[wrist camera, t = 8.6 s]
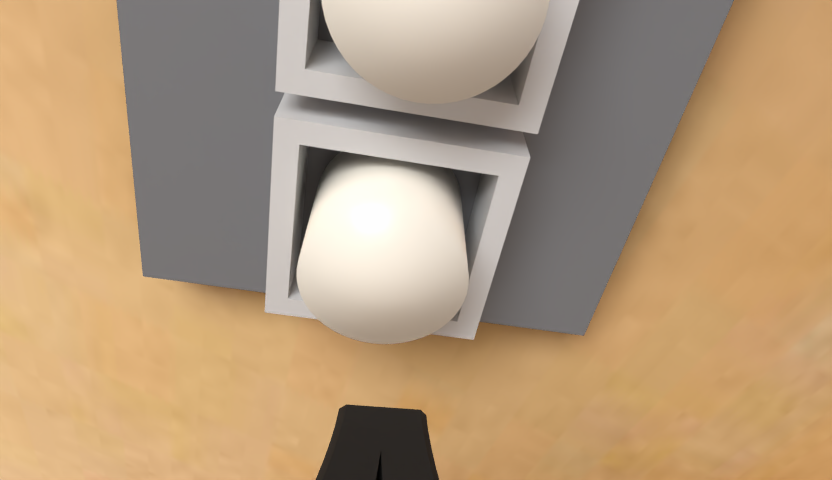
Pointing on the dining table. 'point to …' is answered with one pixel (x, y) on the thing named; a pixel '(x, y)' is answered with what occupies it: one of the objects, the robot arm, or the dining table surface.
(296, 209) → the panel
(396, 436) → the robot arm
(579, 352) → the dining table surface
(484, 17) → the knob mid
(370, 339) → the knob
